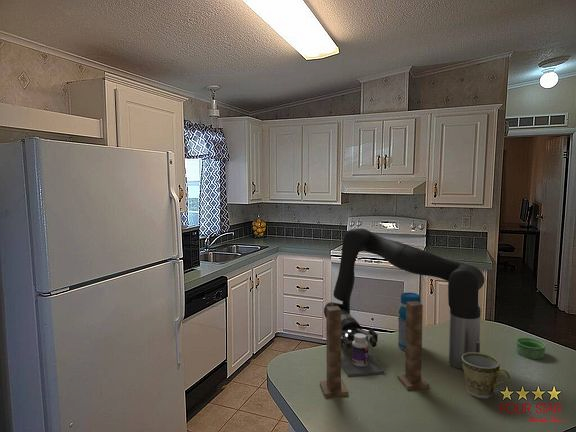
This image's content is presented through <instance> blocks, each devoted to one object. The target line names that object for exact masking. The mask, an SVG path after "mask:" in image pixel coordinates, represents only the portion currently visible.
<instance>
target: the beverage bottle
mask: <svg viewBox="0 0 576 432" xmlns="http://www.w3.org/2000/svg"><path fill="white" fill-rule="evenodd" d="M412 301H418V302H419V303H421V295H420V294H419V293H415V292H403V293H402V292H401V294H400V303H401V306H400V307H399V310H398V314H399V315H398V318H397V319H398V320H397V321H398V343H397V345H398V347H399V348H400V349H401V350H403V351H404V352H406V302H412Z"/></svg>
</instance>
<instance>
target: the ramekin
mask: <svg viewBox="0 0 576 432" xmlns="http://www.w3.org/2000/svg"><path fill="white" fill-rule="evenodd" d="M515 342H516V343H515V344H516V352H517V354H518V355H519V356H521V357H523V356H524V357H523V358H526V359H530V360H541V358H542V359H543V358H544V357H545V351H546V348H547V344H545V342H543V341H542V340H539V339H535V338H532V337H518V338H517V339H516V340H515Z"/></svg>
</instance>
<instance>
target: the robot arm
mask: <svg viewBox="0 0 576 432" xmlns="http://www.w3.org/2000/svg"><path fill="white" fill-rule="evenodd" d="M342 239H343V240H342V245H341V246H342V248H341V255H340V264H339V269H338V276H337V279H336V282H335V285H334V290H333V292H332V293H333V297H334V298H335V299H336V300H338V301H340V302H342V303H339V302H333V301H331V302H328V303H326V304H325V305H324V308H323V315H324V317H325V318H326V307H329V306H338V307H339V308H340V309H341V345H343V346H344V347H345V348H346V349H348V350H352V342H353V341H354V335H355V334H358V333H361V334H365V335H366V341H367V342H368V344H370V345H371V346H372V348H376V347H377V344H378V342H379V340H378V339H379V338H378V336H379V335H378V333H377V332H376V331H375V330H374V329H373V328H368V330H364V329H363V328H362V326H361V324H360V323H359V322H358V321H357V319H356V318H354V317H353V316H352V315H351V309H350V308H351V296H352V292H353V289H354V285H355V264H356V260H357V257H358V255H359V254H360V253H361V252H366V253H369V254H373V255H376V256H379V257H381V258H383V259H384V260H385V261H386V262H387V263H389V264H390V265H392V266H394V267H395V268H398V269H400V270H402V271H405V272H408V273H411V274H415V275H420V276H426V277H433V278H434V277H435V278H438V279H440V280H444V281H446V282H448V283H447V287H448V288H447V296H448V299H447V300H448V306H449V335H448V337H449V338H448V339H449V342H448V363H449V365H451V366H452V367H454V368H456V369H459V370H463V365H462V355H463V354H465V353H469V352H477V353H481V337H480V335H481V333H480V332H481V312H482V311H481V310H482V309H481V307H480V306H479V290H480V289H481V288H483V286H484V284H485V279H486V278H485V275H484V274H483V272H482V271H481V270H480V269H479V268H478V267H476V266H474V265H471V264H467V263H463V262H458V261H454V260H451V259H448V258H444V257H442V256H439V255H436V254H434V253H431V252H429V251H426V250H422V249H420V248H418V247H415V246H413V245H409V244H406V243H402V242H400V241H397V240H396V241H395V240H392V239H390V238H389V239H388V238H385V237H382V236H381V235H378V234H377V233H374V232H372V231H370V230H368V229H366V228H353V229H348V230H347V231H346V232H345V234H344V236H343V238H342Z"/></svg>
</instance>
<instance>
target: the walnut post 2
mask: <svg viewBox="0 0 576 432" xmlns="http://www.w3.org/2000/svg"><path fill="white" fill-rule="evenodd" d="M423 307H424V306H423V304H422V303H421V302H420V303H419V302H418V301H412V302H406V351H405V361H404V362H405V363H404V364H405V366H404V367H405V373H402V374H397V379H398V380H399V383H401V385H402V386H403V387H404V388H405V390H407V391H413V390H424V389H425V390H426V389H430V382H428V381H427V380H426V379H425V377H423V375H422V360H423V359H422V357H423V356H422V355H423V353H422V351H423V311H424V310H423Z"/></svg>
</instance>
